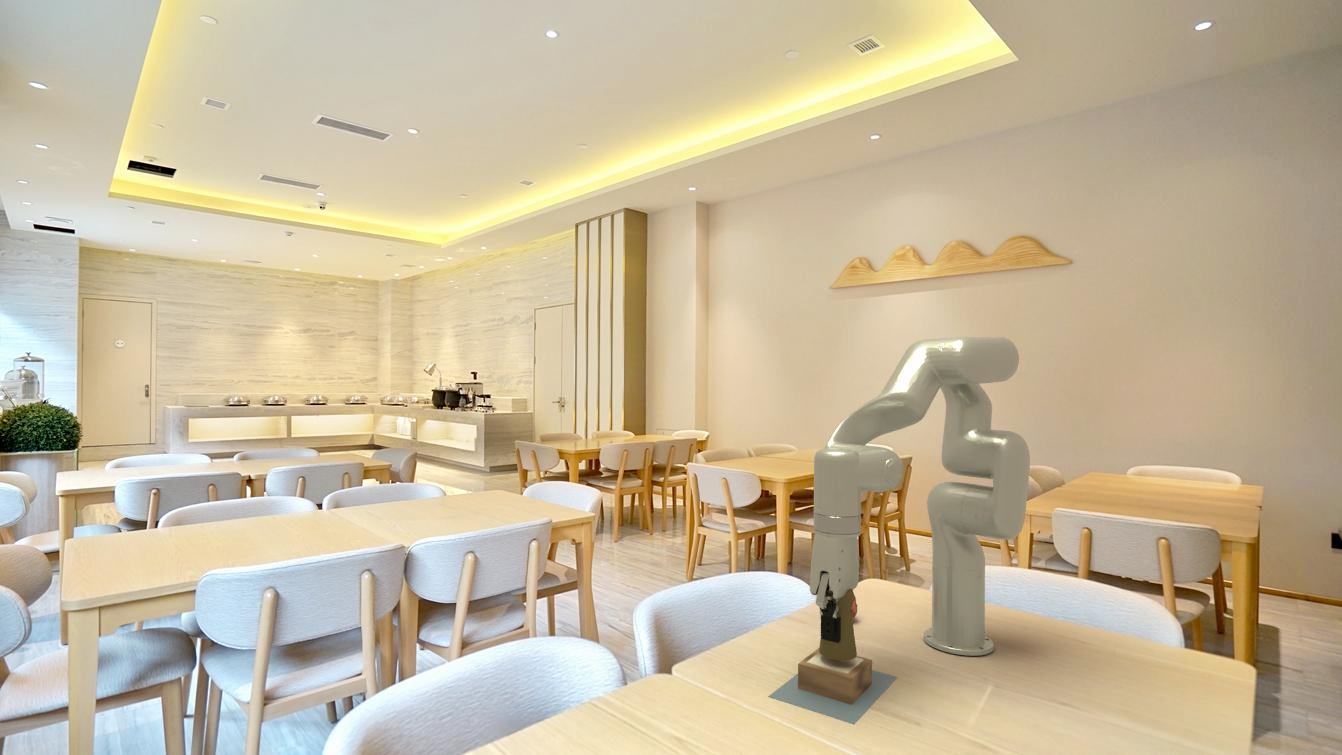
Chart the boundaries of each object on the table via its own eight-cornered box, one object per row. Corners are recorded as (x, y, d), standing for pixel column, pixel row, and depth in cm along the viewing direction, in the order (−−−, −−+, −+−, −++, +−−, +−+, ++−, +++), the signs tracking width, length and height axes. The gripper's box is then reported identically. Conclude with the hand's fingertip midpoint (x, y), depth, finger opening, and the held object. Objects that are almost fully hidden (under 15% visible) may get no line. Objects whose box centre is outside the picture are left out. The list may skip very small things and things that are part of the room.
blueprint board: (819, 661, 120) (819, 656, 120) (897, 682, 111) (897, 677, 111) (768, 702, 103) (768, 696, 104) (854, 731, 95) (854, 724, 95)
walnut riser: (820, 670, 114) (820, 645, 114) (871, 684, 108) (871, 658, 108) (797, 688, 106) (798, 662, 107) (851, 704, 101) (851, 677, 101)
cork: (858, 662, 104) (858, 592, 104) (819, 658, 105) (819, 589, 105) (855, 647, 110) (855, 581, 110) (818, 644, 111) (818, 579, 111)
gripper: (835, 513, 117) (834, 617, 117) (793, 529, 104) (792, 646, 103) (876, 519, 113) (876, 626, 112) (839, 536, 99) (838, 658, 99)
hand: (836, 634), depth 108 cm, fingers closed on cork, 4 cm apart
